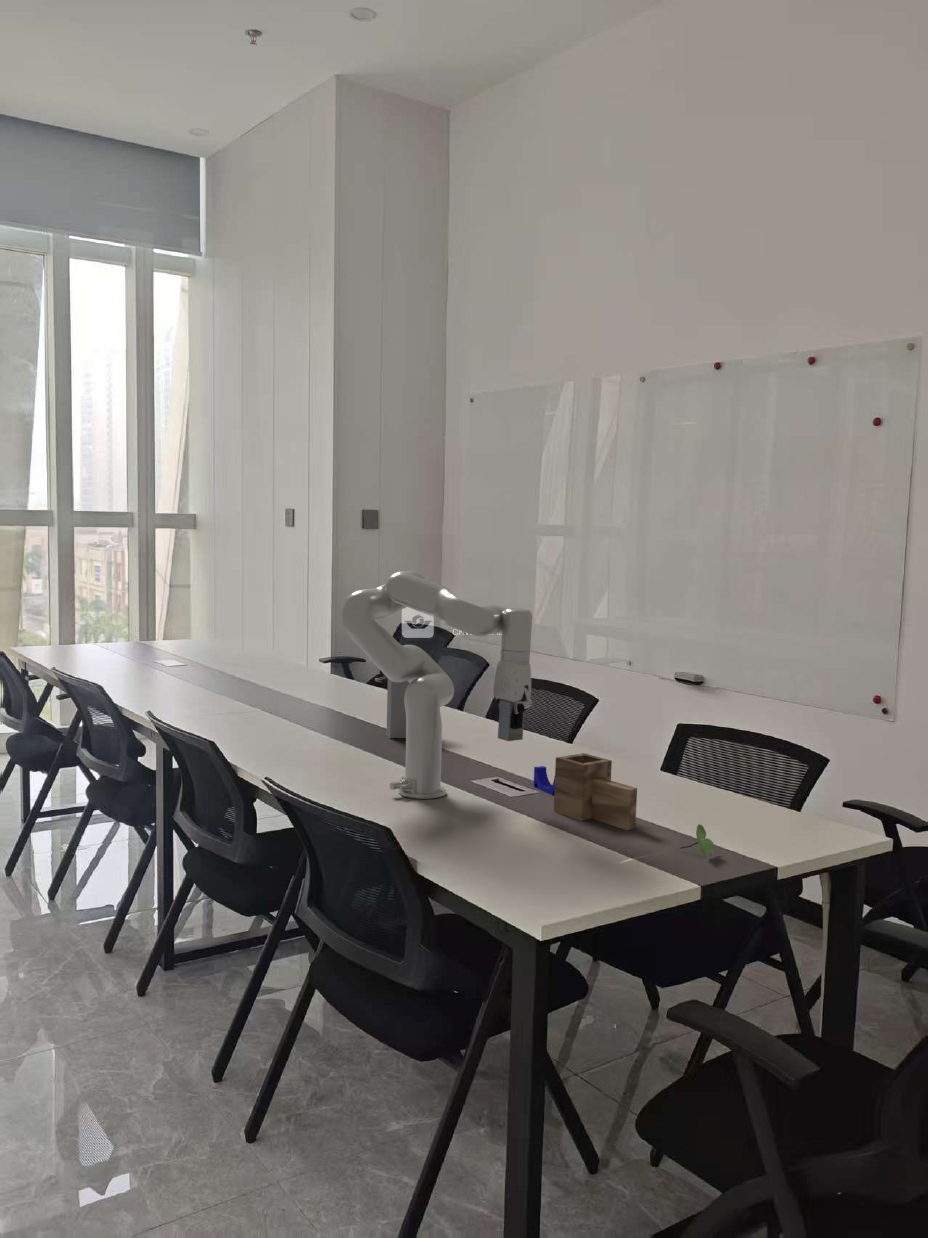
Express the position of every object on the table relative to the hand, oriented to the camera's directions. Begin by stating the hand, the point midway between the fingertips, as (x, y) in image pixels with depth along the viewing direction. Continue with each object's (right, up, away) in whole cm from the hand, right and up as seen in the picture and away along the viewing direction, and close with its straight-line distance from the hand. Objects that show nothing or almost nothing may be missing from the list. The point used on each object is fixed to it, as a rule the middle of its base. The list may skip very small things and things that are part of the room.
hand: (510, 726), depth 265 cm
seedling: (+37, -25, -31) cm, 55 cm away
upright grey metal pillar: (0, -3, 0) cm, 3 cm away
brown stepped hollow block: (+22, -22, -8) cm, 32 cm away
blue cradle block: (+12, -20, +17) cm, 29 cm away
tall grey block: (-31, -13, +81) cm, 88 cm away
